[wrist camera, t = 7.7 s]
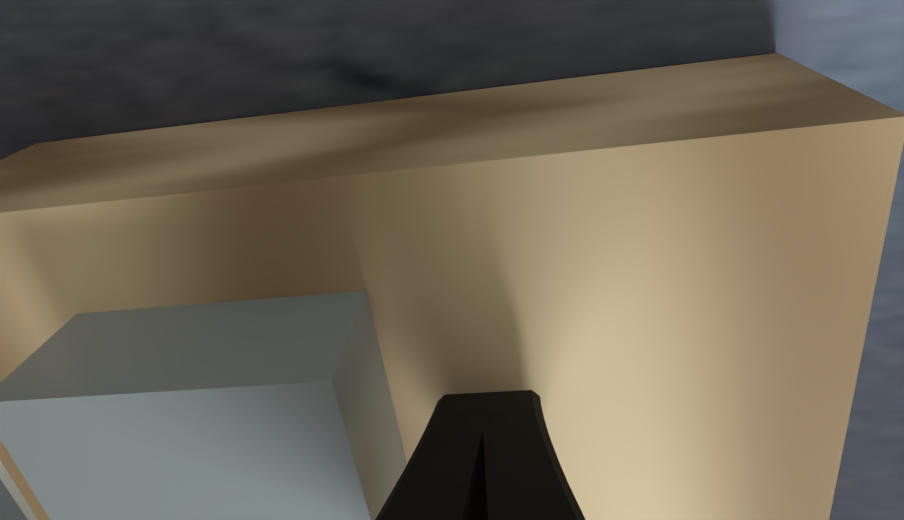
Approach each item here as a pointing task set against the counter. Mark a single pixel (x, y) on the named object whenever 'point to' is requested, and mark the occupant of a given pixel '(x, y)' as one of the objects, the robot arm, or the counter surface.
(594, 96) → the maple bench
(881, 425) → the counter surface
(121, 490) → the slate tile
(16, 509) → the slate tile
